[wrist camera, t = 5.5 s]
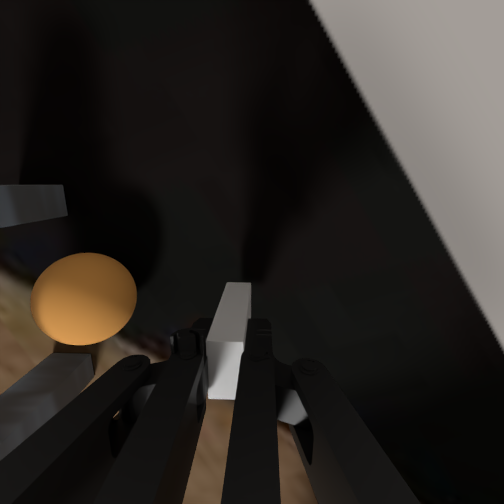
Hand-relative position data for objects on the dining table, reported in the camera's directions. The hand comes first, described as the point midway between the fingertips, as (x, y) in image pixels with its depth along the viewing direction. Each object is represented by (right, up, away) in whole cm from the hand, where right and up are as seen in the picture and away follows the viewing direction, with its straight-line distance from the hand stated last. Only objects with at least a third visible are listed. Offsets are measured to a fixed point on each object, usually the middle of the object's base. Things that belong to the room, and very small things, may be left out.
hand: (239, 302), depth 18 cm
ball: (-9, 0, -1) cm, 9 cm away
